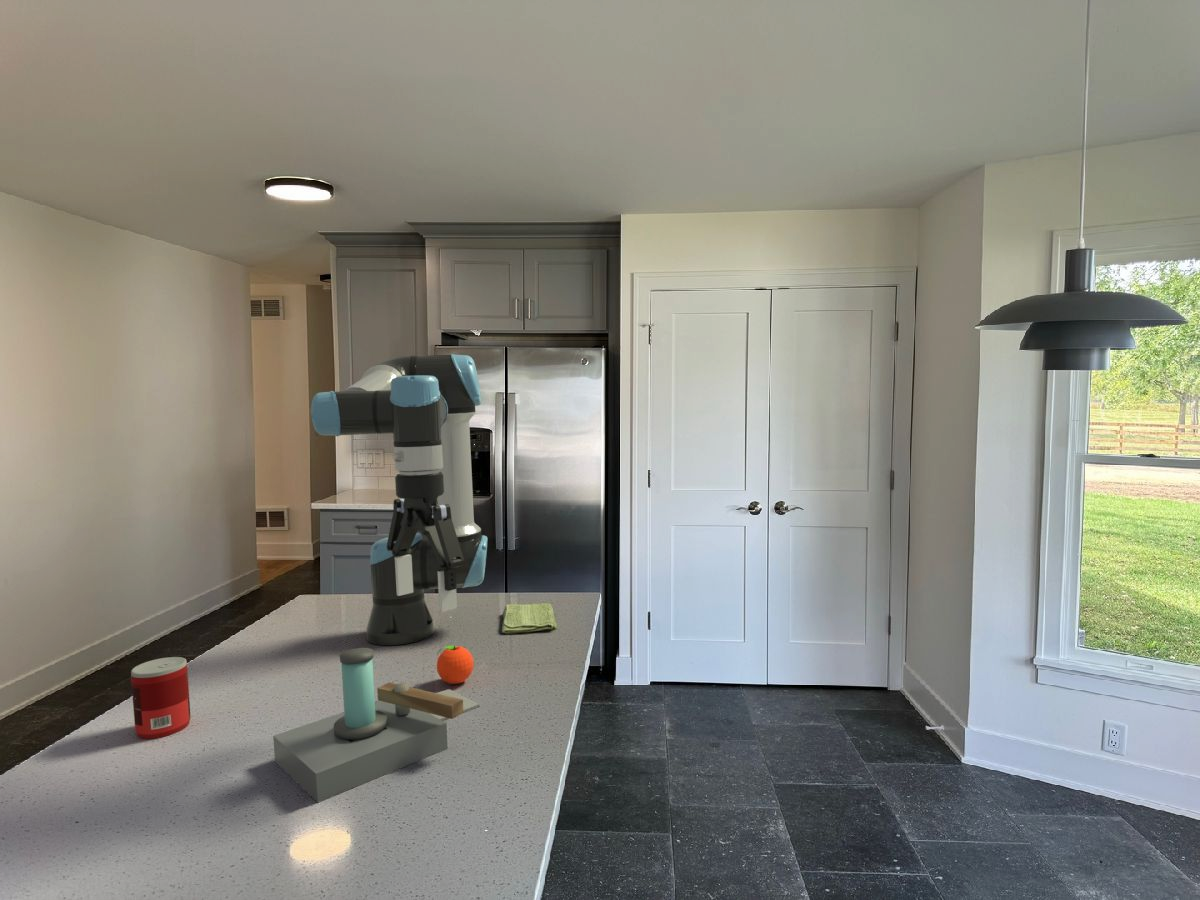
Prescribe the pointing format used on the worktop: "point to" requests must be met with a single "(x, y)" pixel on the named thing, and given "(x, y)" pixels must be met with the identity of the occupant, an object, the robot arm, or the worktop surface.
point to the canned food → (160, 697)
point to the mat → (467, 702)
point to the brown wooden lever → (419, 700)
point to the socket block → (356, 751)
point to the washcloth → (528, 618)
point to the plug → (358, 697)
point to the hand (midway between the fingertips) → (425, 601)
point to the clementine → (454, 664)
